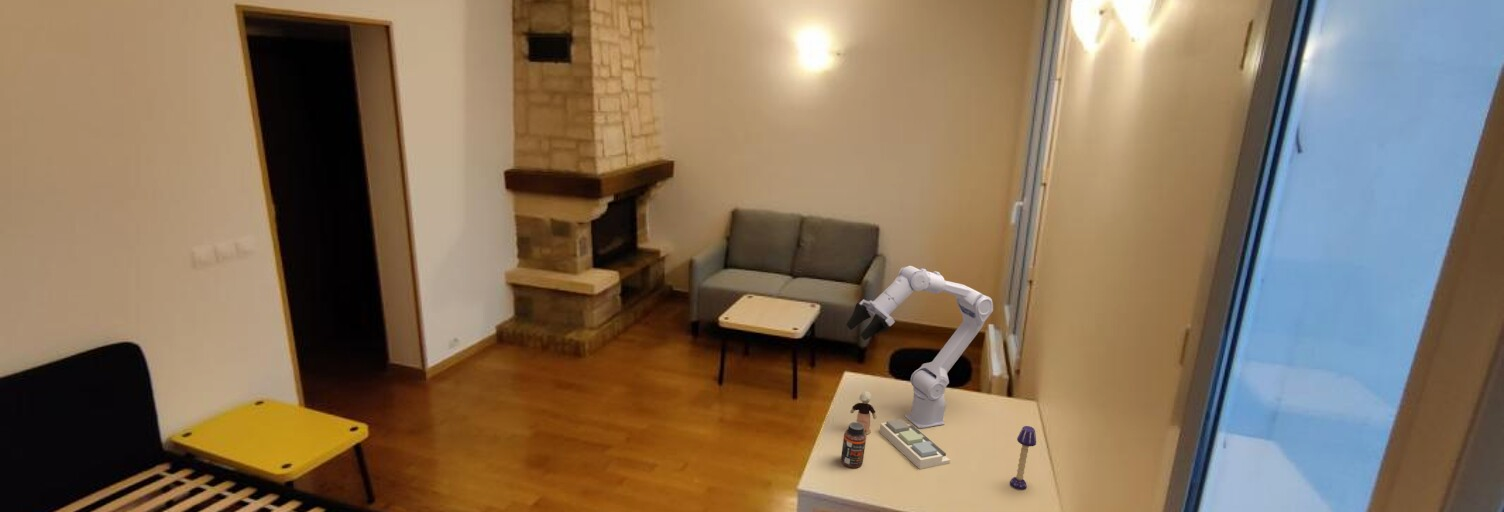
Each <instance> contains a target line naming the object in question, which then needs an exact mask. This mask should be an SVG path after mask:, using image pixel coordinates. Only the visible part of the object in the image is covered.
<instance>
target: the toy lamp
mask: <svg viewBox="0 0 1504 512" xmlns="http://www.w3.org/2000/svg"><path fill="white" fill-rule="evenodd" d="M1016 441H1017V442H1018V444H1020V445H1021V446H1022V447H1021V449H1020V453H1019V459H1018V464H1017V470H1016V471H1017V472H1016V473H1017V474H1016V476H1015V477H1012V478H1011V479H1010V481H1009V485H1010V486H1011V487H1012V488H1013V489H1017V490H1026V489H1027V481H1025V480H1026V479H1025V480H1024V474H1025V468H1026V463H1027V458H1028V453H1029V447H1034V446H1036V445H1037V435H1036V429H1035V427H1032V426H1029V425H1024V426H1022V428H1021V430H1020V432H1019V434H1018V436H1017V438H1016Z"/></svg>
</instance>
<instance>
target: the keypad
mask: <svg viewBox="0 0 1504 512" xmlns="http://www.w3.org/2000/svg"><path fill="white" fill-rule="evenodd" d="M886 422H887V421H886ZM886 422H882V423H880V424H879V433H880V434H881V435H882V436H883V437H884V438H885V439H886V440H888V441H889V442H890V443H891V444H892V446H894V447H895V448H896V449H897V450H898V451H900V453H901V454H903V455H904V456H905V457H906V458H907V459H908V460H909V461H910V462H911V463H912V464H913V465H914V466H916V468H918V469H919V470H922V469H927V468H932V467H936V466H937V467H938V466H943V465H947V464H950V463H951V459H950V458H948V456H946V455H947V453H946V452H945V451H943V449H941V448H940V447H939V446H937V444H936V443H934V442H933V441H932V440H931V439H930V438H928V437H927V436H926V435H925V434H924V433H922V432H921V431H920V430H919V428H918V427H917V428H916V426H915V425H914V424H911V425H910V424H908V423H906V424H907V425H908V426H909V427H910V429H909V430H914V431H915V432H916V433H917V434H919V435H920V436H921V437H922V438H923V442H926V441H927V442H928V443H929V444H930V445H931V446H933V447H934V448H935V449H936V450H937V454H936V455H933V456H928V457H921V456H919V455H918V454H917V453H916V452H915V451H914V450H913V449H912V445H907V444H906V443H905V442H904V441H903V440H902V439H901V438H900V437H898V436H899V433H896V434H895V433H894V432H893V431H892V430H891V429H890V428H888V427H887V426H886Z"/></svg>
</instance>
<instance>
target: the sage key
mask: <svg viewBox="0 0 1504 512" xmlns="http://www.w3.org/2000/svg"><path fill="white" fill-rule="evenodd" d="M898 437H900V438H901V439H902V440H903V441H904V442H905V443H906V444H907V445H912V444H915V443H920V442H923V438H922V437H921V436H920V435H919V434H917V433H916V432H915V431H914V430H909V431H903V432H899V436H898Z"/></svg>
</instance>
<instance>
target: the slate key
mask: <svg viewBox="0 0 1504 512" xmlns="http://www.w3.org/2000/svg"><path fill="white" fill-rule="evenodd" d="M912 449H913V450H914V451H915V452H916V453H917V454H918V455H919V456H921V457H928V456H933V455H936V454H937V450H936V449H935V448H934V447H933V446H931V445H930V444H929V443H928V442H927V441H926V442H920V443H915V444H912Z"/></svg>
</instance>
